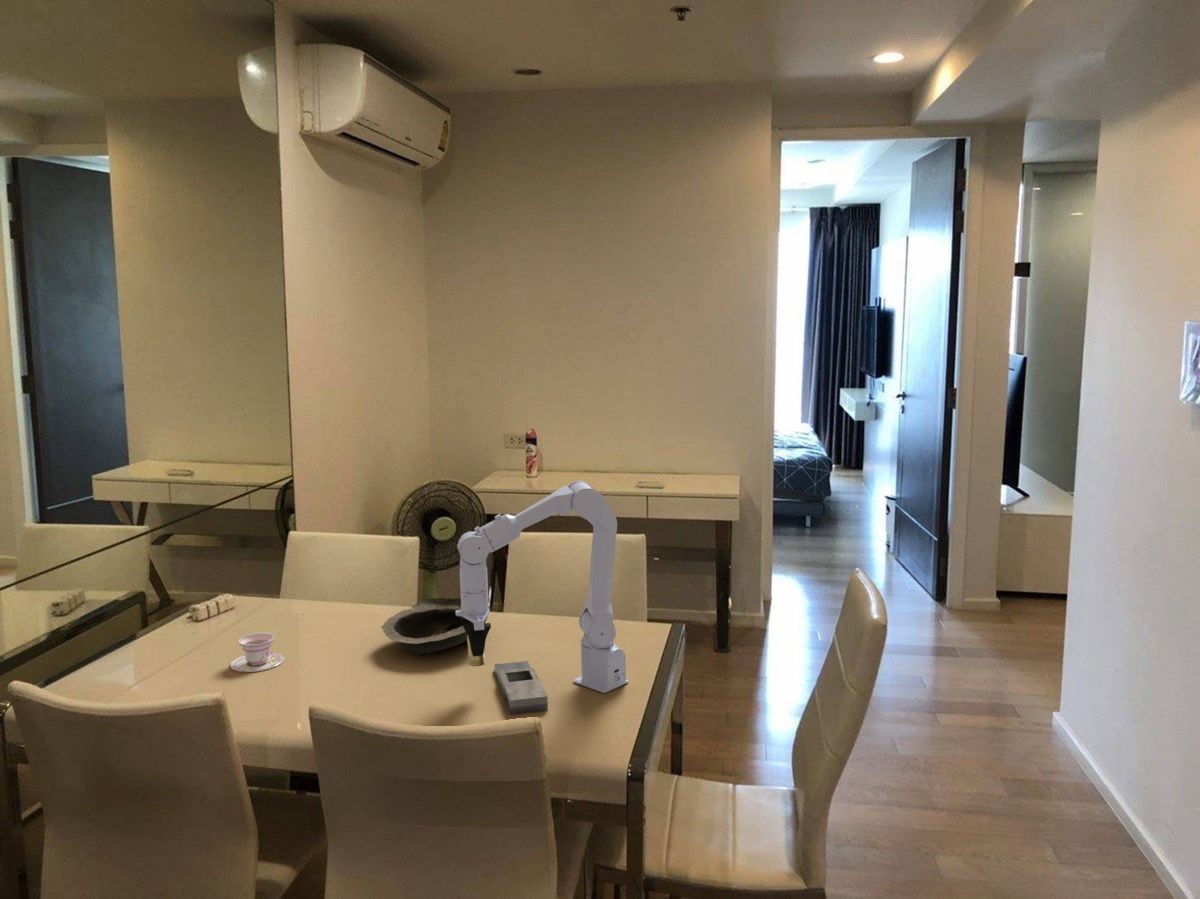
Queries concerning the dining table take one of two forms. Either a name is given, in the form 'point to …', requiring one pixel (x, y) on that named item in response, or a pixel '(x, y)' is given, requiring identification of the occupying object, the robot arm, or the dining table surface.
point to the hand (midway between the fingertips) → (476, 652)
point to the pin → (477, 659)
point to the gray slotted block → (521, 687)
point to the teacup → (256, 653)
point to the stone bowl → (427, 626)
